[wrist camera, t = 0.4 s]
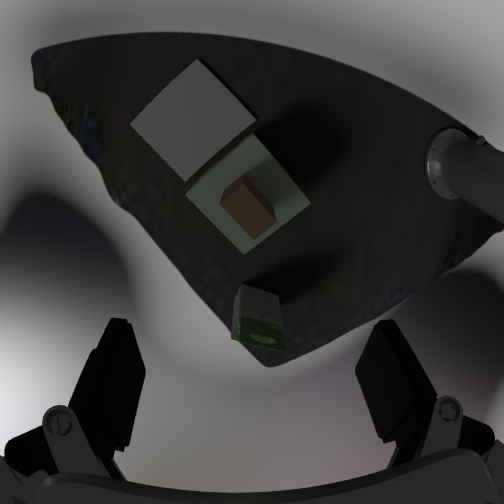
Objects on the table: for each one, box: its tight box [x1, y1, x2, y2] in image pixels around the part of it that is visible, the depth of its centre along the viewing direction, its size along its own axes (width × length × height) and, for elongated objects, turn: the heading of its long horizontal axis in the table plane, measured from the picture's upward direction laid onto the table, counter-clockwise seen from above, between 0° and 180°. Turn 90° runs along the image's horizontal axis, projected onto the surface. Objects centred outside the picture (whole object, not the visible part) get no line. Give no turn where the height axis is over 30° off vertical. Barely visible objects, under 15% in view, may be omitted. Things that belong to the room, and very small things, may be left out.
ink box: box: [231, 284, 286, 352], centre depth 41 cm, size 7×4×13 cm, turn 68°
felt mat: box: [130, 59, 256, 181], centre depth 33 cm, size 13×12×1 cm
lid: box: [185, 134, 311, 254], centre depth 29 cm, size 10×10×7 cm
